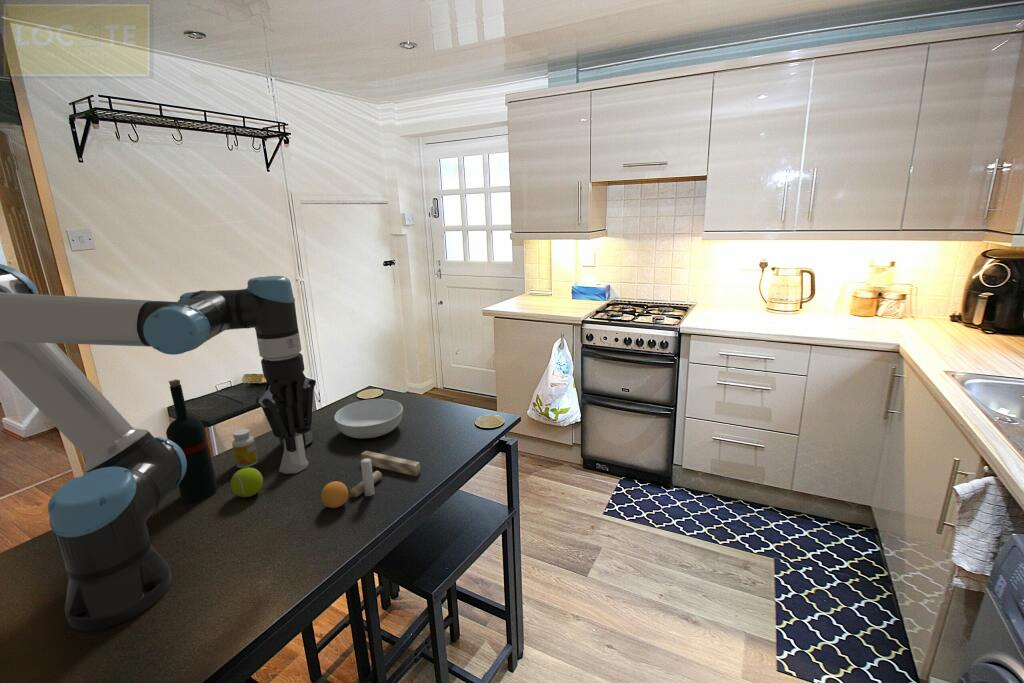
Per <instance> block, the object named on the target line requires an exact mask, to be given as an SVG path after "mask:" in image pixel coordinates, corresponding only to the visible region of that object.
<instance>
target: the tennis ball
mask: <svg viewBox="0 0 1024 683" xmlns="http://www.w3.org/2000/svg"><path fill="white" fill-rule="evenodd" d="M263 484H264V477H263V475H262V473H261V472H260V471H259V470H258V469H257V468H254V467H246V468H240V469H238V470H237V471H236V472H235V473H234V474H233V475H232V477H231V480H230V490H231V491H232V492H233V493H234V495H236V496H238V497H241V498H249V497H253V496H254V495H256V494H257V493H258V492H259V491H260V490H261V488H263V487H262V486H263Z"/></svg>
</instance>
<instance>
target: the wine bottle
mask: <svg viewBox="0 0 1024 683" xmlns="http://www.w3.org/2000/svg"><path fill="white" fill-rule="evenodd" d="M168 383H169V390H170V393H171V399H172V403H173V407H174V412H175V416H176V418H175V419H174V420H172V421H171V422H170V424H169V425H168V427H167V428H166V431H165V434H166V439H169V440H171V441H173V442H174V443H176V444H177V445H178V446H179V447H180V448H181V449H182V451H183V452H184V454H185V457H186V461H187V468H186V473H185V475H184V477H183V479H182V480H181V482H180V483H179V485H178V487H177V488H178V490H179V495H180V499H181V501H182V502H183V503H190V504H191V503H192V504H193V503H196V502H202V501H204V500H206V499H208V498H211V497H212V496H213V495H214V494H216V493H217V491H218V489H219V487H218V483H217V479H216V478H217V477H216V474H215V471H214V470H215V469H214V465H213V464H214V463H213V461H212V456H211V452H210V447H209V442H208V438H207V435H206V431H205V426H204V423H203V422H202V421H201V420H200V419H199V418H197V417H195V416H192V415H191V416H190V415H189V414H188V411H187V406H186V400H185V397H184V393H183V392H184V391H183V388H182V384H181V380H180V379H172V380H169V381H168Z"/></svg>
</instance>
